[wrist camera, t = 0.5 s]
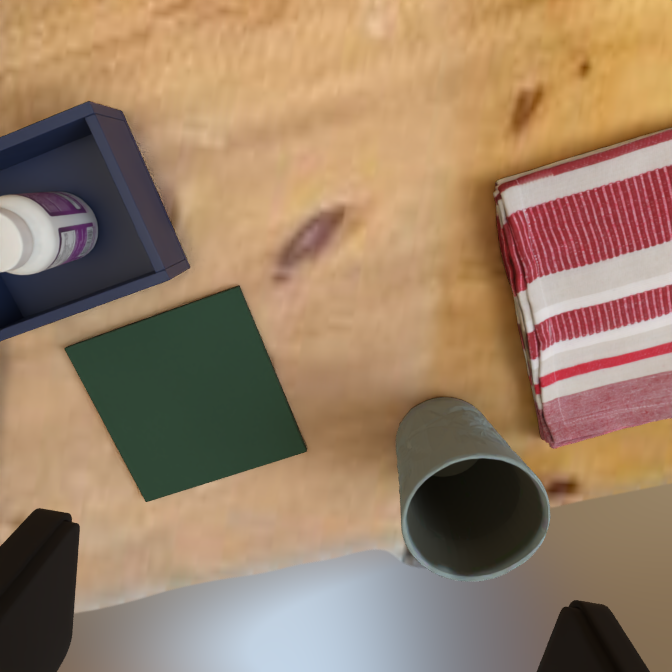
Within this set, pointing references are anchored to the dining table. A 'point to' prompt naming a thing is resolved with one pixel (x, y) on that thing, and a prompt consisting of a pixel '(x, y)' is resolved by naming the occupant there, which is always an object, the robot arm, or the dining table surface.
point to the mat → (189, 395)
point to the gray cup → (465, 494)
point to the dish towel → (593, 285)
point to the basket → (107, 205)
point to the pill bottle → (44, 231)
